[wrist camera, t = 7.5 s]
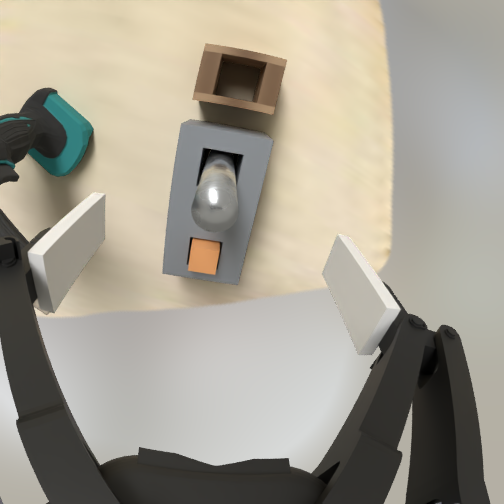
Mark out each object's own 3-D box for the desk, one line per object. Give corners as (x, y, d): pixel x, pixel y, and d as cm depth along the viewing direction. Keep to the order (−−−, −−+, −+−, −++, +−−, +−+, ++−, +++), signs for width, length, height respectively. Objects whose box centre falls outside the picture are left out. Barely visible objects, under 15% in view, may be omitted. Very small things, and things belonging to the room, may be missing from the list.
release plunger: (194, 237, 38) (187, 270, 31) (197, 216, 37) (191, 246, 30) (216, 241, 39) (215, 274, 32) (220, 220, 38) (219, 251, 31)
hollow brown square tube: (198, 99, 30) (192, 99, 25) (209, 52, 28) (205, 43, 22) (265, 112, 32) (273, 114, 26) (277, 66, 29) (287, 59, 24)
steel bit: (206, 166, 34) (188, 228, 19) (210, 143, 33) (194, 184, 17) (230, 170, 35) (233, 235, 19) (235, 147, 34) (243, 193, 18)
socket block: (171, 245, 39) (162, 273, 33) (190, 119, 31) (181, 123, 25) (235, 255, 41) (237, 285, 35) (264, 132, 33) (273, 140, 27)
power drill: (152, 173, 34) (52, 301, 13) (113, 222, 37) (22, 364, 15) (27, 64, 24) (-117, 82, 2) (-1, 116, 26) (-131, 170, 5)
